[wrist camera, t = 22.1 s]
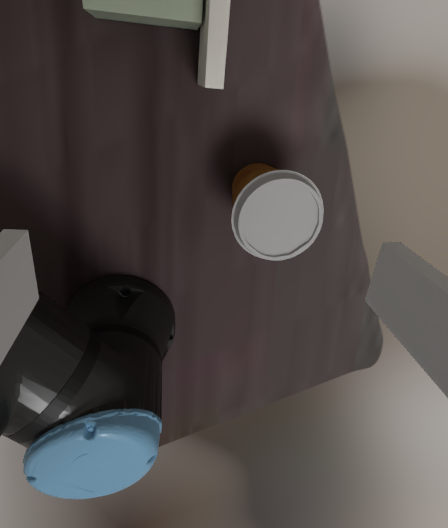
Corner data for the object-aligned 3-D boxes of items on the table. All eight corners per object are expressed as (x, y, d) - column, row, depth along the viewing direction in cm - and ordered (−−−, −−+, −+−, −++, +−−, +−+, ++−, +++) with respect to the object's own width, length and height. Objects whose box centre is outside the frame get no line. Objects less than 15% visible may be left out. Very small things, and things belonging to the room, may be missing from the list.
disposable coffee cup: (222, 227, 49) (237, 271, 38) (214, 154, 44) (229, 180, 34) (293, 217, 49) (326, 257, 39) (292, 144, 45) (330, 166, 34)
